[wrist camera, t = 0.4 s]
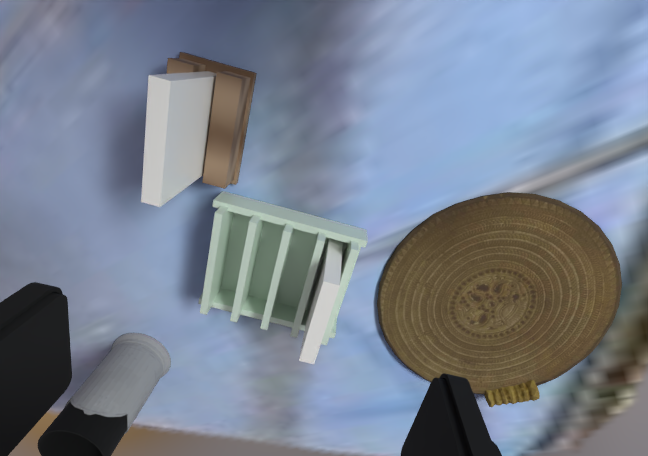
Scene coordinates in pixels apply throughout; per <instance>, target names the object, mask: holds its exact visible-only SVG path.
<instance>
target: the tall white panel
mask: <svg viewBox="0 0 648 456" xmlns="http://www.w3.org/2000/svg"><path fill="white" fill-rule="evenodd" d="M215 81H216V73H213V72H209V71H203V72H188V73H172V74H156V75H149V78H148V95H147V112H146V129H145V146H144V163H143V179H142V196H141V202H143V203H146V204H150V205H154V206H158V207H161V206H163V205H164V204H165V203H167V202H168V201H169V200H171V199H172V198H173V197H175V196H176V195H177V194H179V193H180V192H181V191H183V190H184V189H185V188H187V187H188V186H189V185H191V184H192V183H193V182H195V181H196V180H197V179H199V178H200V177H201V176H203V174H204V166H205V159H206V151H207V143H208V135H209V128H210V120H211V112H212V104H213V97H214V89H215Z"/></svg>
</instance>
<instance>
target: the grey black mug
mask: <svg viewBox="0 0 648 456" xmlns="http://www.w3.org/2000/svg"><path fill="white" fill-rule="evenodd" d="M170 365H171V359H170V356H169V353H168V351H167V350H166V348H165V347H164V346H163V345H162V344H161V343H160V342H158V341H157V340H156V339H154V338H152V337H150V336H147V335H144V334H140V333H128V334H124V335H122V336H120V337H118V338H117V339H116V340H115V342H114V343H113V345H112V349H111V351H110V352H109V354H108V355H107V356H106V357H105V358H104V359H103V361H102V362H101V363H100V364H99V365H98V367H97V368H96V369H95V370H94V371H93V373H92V374H91V375H90V376H89V377H88V379H87V380H86V381H85V382H84V383H83V384H82V386H81V387H80V388H79V389H78V390H77V392H76V393H75V394H74V395H73V396H72V398H71V399H70V400H69V401H68V402H67V404H66V406H65V408H64V409H63V411H62V412H61V413H60V414H59V415H58V417H57V418H56V419H55V420H54V421H53V423H52V424H51V425H50V426H49V427H48V429H47V430H46V431H45V432H44V433H43V435H42V436H41V437H40V439H39V440H38V449H39V452H40V454H41V455H42V456H111V455H112V453H113V451H114V449H115V448H116V446H117V445H118V443H119V442H120V440H121V438H122V437H123V435H124V434H125V433H126V432H127V431H128V430H129V428H130V426H131V425H132V423H133V422H134V420H135V418H136V417H137V415H138V413H139V412H140V410H141V409H142V407H143V405H144V404H145V402H146V400H147V399H148V397H149V396H150V394H151V392H152V391H153V389H154V387H155V386H156V384H157V382H158V381H159V379H160V378H161V377H163V376H164V375H165V374H166V373H167V372H168V370H169V368H170Z"/></svg>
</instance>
